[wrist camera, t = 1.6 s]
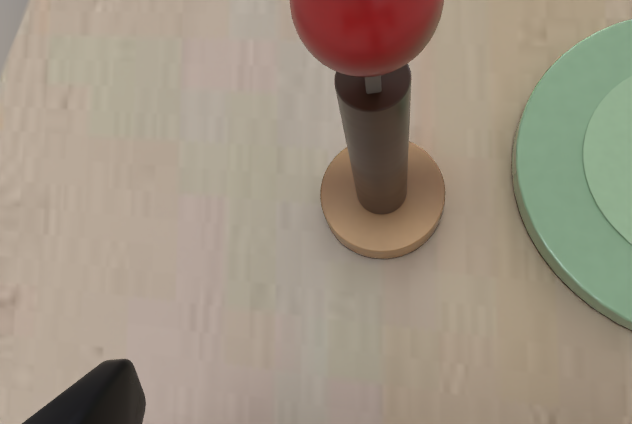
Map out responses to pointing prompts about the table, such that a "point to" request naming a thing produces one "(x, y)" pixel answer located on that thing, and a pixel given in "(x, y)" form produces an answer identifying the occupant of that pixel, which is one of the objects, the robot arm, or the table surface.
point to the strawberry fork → (375, 121)
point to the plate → (582, 170)
